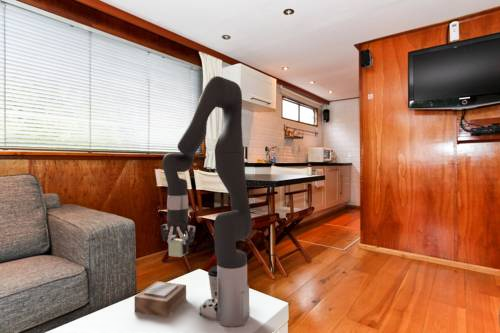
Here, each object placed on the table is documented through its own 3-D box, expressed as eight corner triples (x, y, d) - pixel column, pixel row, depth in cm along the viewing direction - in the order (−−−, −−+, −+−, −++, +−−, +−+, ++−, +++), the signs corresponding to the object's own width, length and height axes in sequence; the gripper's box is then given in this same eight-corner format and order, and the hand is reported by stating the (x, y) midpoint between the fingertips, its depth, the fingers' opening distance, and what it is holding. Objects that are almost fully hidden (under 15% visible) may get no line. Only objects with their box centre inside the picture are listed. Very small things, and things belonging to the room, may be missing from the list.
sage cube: (188, 252, 102) (187, 239, 102) (180, 257, 98) (180, 243, 98) (176, 251, 104) (176, 238, 104) (168, 255, 99) (168, 242, 99)
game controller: (217, 319, 83) (204, 303, 84) (206, 329, 84) (193, 314, 85) (227, 303, 93) (216, 289, 94) (217, 313, 94) (205, 299, 95)
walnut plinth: (186, 299, 97) (186, 283, 97) (166, 317, 85) (166, 299, 85) (156, 294, 100) (156, 279, 100) (134, 311, 89) (134, 294, 89)
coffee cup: (217, 303, 94) (217, 274, 94) (203, 296, 99) (203, 269, 98) (231, 295, 100) (231, 268, 99) (217, 289, 104) (217, 263, 104)
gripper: (200, 206, 102) (200, 251, 102) (167, 205, 106) (167, 248, 106) (189, 209, 95) (190, 258, 95) (154, 208, 99) (155, 254, 99)
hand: (178, 253), depth 101 cm, fingers closed on sage cube, 5 cm apart
